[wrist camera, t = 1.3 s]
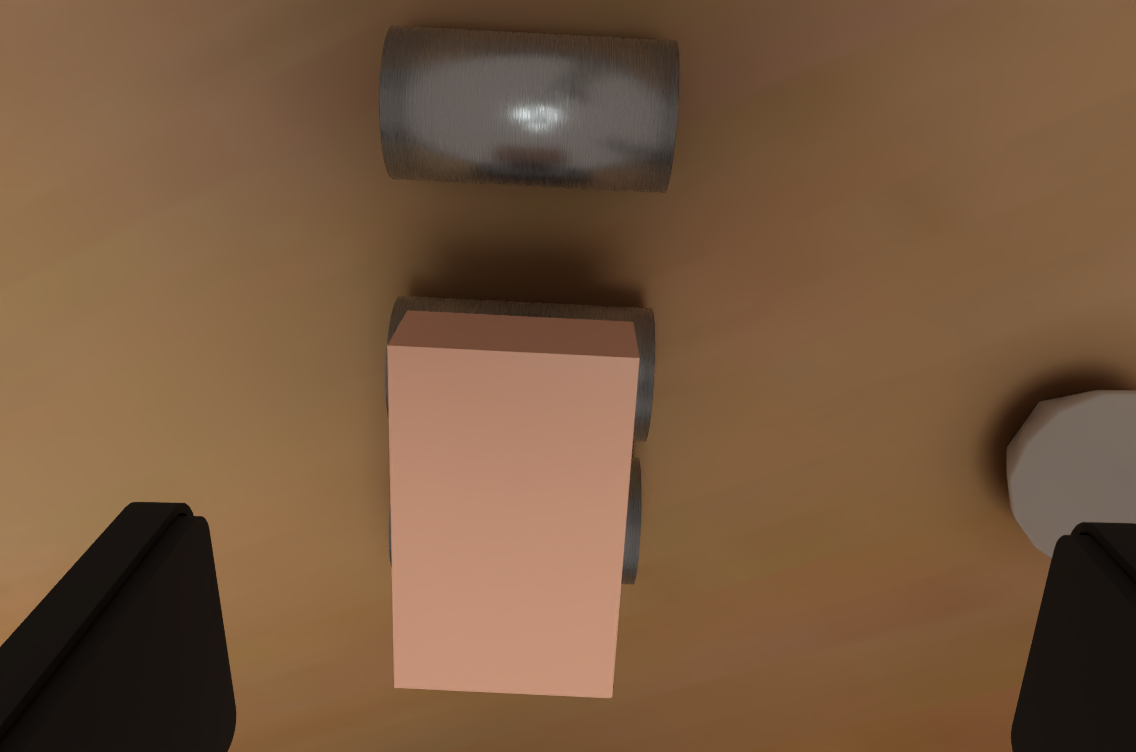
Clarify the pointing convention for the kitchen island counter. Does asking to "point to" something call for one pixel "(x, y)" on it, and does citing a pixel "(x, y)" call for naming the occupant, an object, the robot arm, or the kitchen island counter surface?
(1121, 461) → the salt shaker
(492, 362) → the terracotta slab
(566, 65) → the loose steel roller
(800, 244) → the kitchen island counter surface
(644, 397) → the front steel roller
